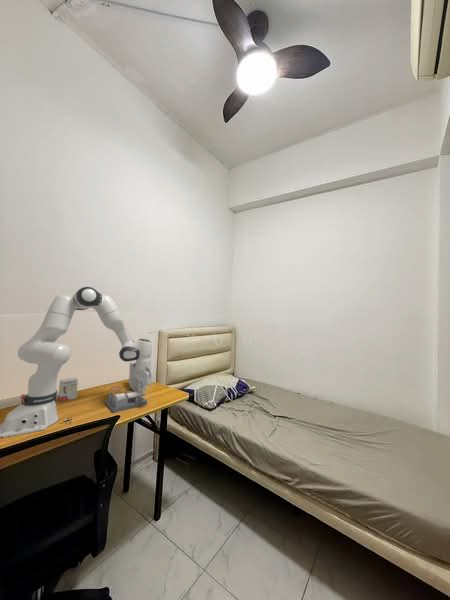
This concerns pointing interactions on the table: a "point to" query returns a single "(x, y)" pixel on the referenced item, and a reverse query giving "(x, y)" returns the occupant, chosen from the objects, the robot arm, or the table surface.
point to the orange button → (115, 390)
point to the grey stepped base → (124, 403)
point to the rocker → (135, 394)
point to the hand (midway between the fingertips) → (142, 388)
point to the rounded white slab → (134, 380)
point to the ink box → (68, 389)
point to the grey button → (120, 396)
